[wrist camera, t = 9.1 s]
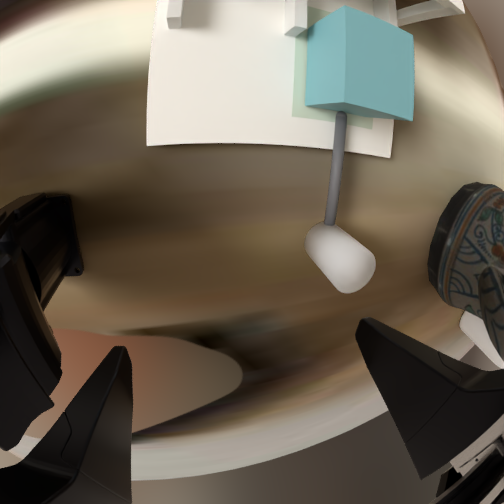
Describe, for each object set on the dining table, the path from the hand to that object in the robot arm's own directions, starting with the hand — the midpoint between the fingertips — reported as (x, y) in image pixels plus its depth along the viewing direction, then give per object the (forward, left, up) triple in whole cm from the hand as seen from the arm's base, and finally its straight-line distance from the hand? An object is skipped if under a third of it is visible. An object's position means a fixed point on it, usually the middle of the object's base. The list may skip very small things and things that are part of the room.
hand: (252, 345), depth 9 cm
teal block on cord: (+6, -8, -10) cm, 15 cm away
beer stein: (-3, -30, -12) cm, 32 cm away
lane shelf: (+16, -4, -12) cm, 21 cm away
